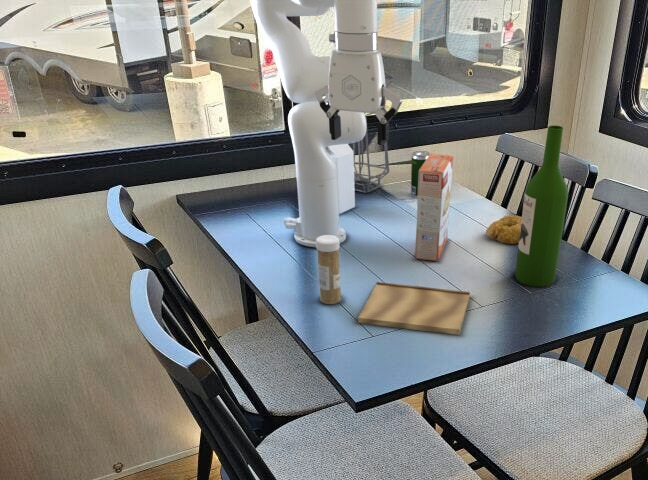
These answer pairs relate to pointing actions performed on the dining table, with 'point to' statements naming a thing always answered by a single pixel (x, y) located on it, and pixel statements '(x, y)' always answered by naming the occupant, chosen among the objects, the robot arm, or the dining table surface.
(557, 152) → the wine bottle
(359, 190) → the geometric lantern
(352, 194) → the milk carton
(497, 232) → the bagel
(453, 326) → the board
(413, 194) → the beer can
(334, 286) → the sprinkles bottle
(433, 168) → the cracker box
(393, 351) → the dining table surface
